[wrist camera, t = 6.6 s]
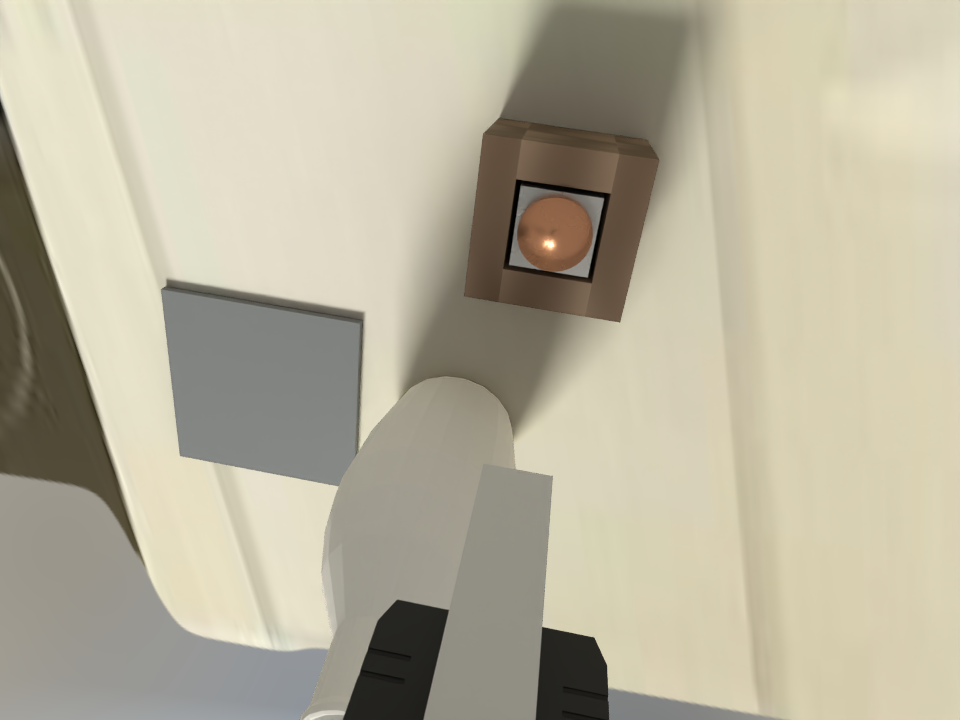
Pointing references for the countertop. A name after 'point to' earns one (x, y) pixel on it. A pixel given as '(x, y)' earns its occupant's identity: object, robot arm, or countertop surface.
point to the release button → (556, 228)
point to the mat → (264, 385)
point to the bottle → (404, 519)
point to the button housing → (570, 163)
